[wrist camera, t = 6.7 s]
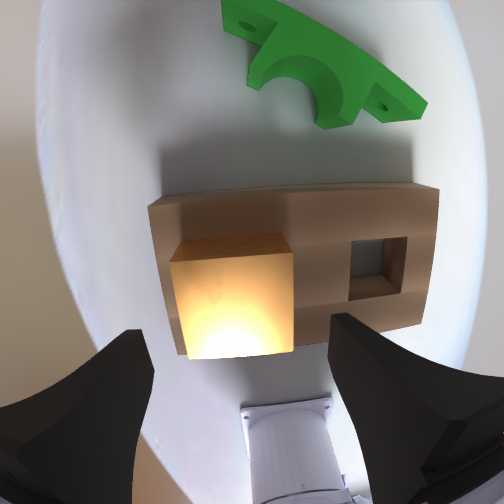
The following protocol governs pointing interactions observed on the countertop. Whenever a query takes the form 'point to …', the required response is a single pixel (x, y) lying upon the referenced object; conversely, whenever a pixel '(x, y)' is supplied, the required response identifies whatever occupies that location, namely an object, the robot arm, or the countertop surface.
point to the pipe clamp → (319, 64)
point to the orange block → (235, 295)
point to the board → (317, 246)
